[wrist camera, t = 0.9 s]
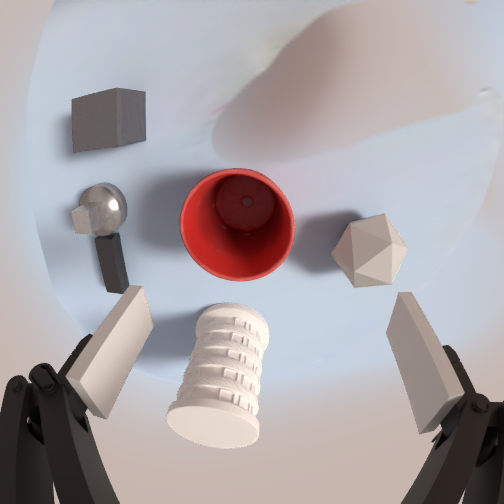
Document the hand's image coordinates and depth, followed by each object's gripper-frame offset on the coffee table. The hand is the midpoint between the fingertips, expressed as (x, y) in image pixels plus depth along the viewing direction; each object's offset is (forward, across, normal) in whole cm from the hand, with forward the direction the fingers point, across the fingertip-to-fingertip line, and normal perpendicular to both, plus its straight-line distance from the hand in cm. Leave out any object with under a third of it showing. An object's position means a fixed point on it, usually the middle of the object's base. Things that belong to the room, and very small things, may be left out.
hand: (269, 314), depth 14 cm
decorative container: (+22, -6, -22) cm, 32 cm away
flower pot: (+22, -4, -1) cm, 23 cm away
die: (+22, +11, -5) cm, 26 cm away
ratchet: (+22, -24, -6) cm, 33 cm away
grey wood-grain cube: (+22, -19, +11) cm, 31 cm away
